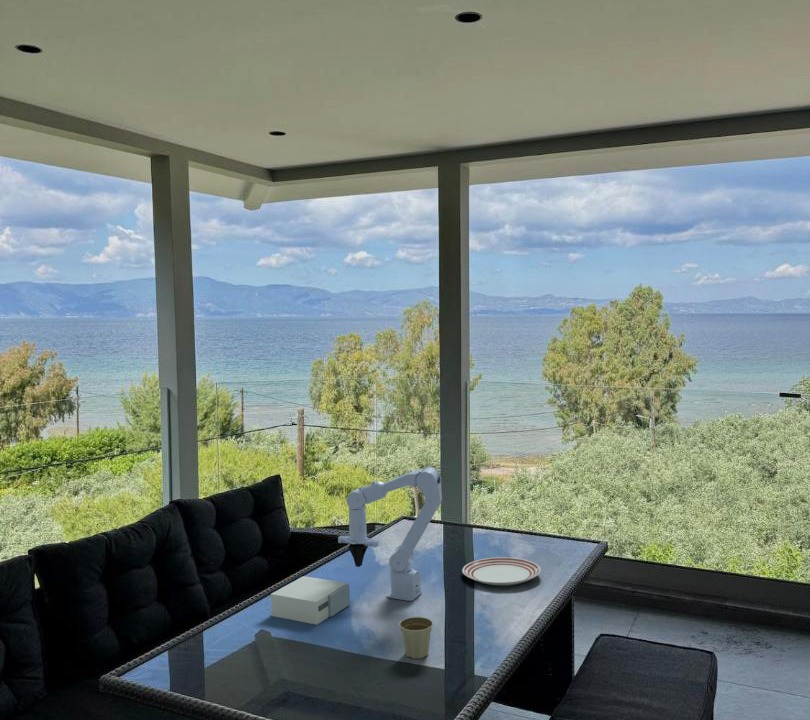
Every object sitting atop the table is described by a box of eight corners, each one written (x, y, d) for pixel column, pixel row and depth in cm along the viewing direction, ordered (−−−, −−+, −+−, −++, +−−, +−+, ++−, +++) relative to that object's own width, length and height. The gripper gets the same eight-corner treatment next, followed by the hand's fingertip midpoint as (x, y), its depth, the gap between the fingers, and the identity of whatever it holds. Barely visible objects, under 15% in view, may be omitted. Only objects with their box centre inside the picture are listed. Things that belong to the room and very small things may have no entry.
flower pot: (409, 664, 205) (408, 633, 205) (393, 651, 214) (393, 621, 213) (440, 657, 210) (439, 625, 209) (423, 644, 218) (422, 614, 217)
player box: (348, 604, 249) (347, 583, 249) (317, 624, 233) (317, 602, 233) (304, 596, 257) (303, 576, 257) (271, 615, 241) (270, 594, 241)
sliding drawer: (349, 604, 249) (349, 584, 248) (331, 616, 239) (330, 595, 238) (322, 599, 253) (321, 580, 253) (303, 611, 244) (302, 591, 243)
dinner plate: (452, 586, 264) (452, 576, 264) (474, 561, 290) (474, 553, 290) (531, 595, 254) (531, 585, 254) (547, 568, 280) (547, 559, 280)
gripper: (332, 526, 257) (334, 566, 258) (370, 531, 251) (371, 572, 252) (343, 521, 264) (345, 560, 265) (381, 525, 257) (382, 565, 258)
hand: (358, 565), depth 259 cm, fingers closed
